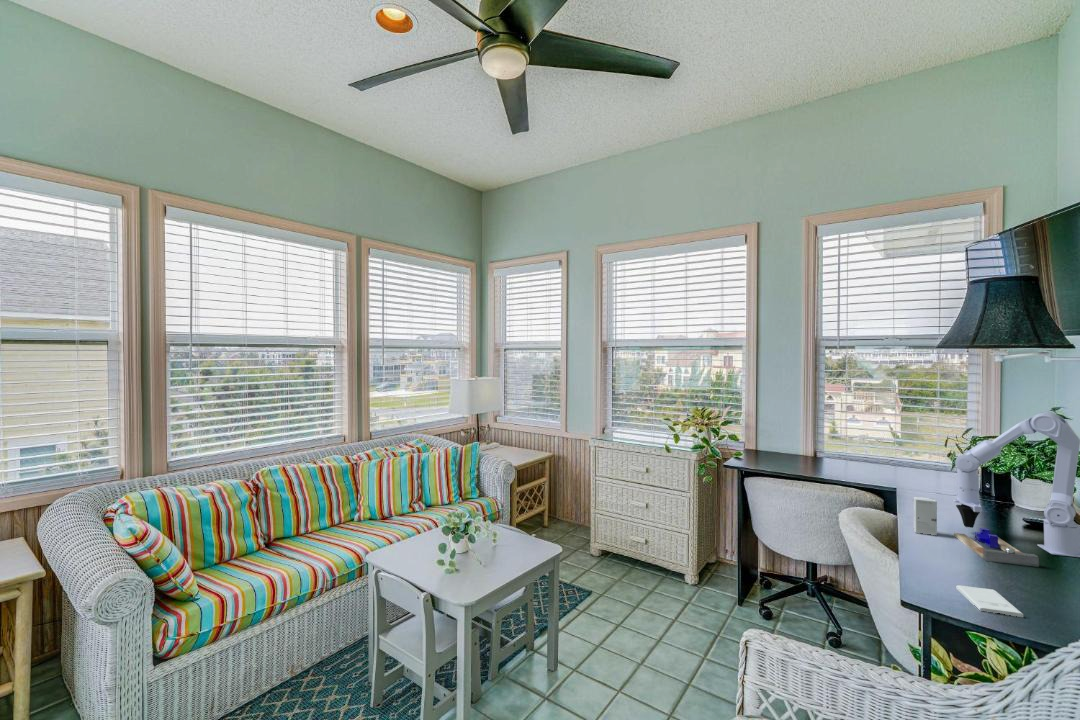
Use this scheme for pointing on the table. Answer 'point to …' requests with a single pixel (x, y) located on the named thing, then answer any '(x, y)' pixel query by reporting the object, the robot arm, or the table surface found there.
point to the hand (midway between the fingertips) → (968, 526)
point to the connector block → (1011, 557)
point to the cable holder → (987, 538)
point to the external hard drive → (988, 600)
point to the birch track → (977, 547)
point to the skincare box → (925, 515)
